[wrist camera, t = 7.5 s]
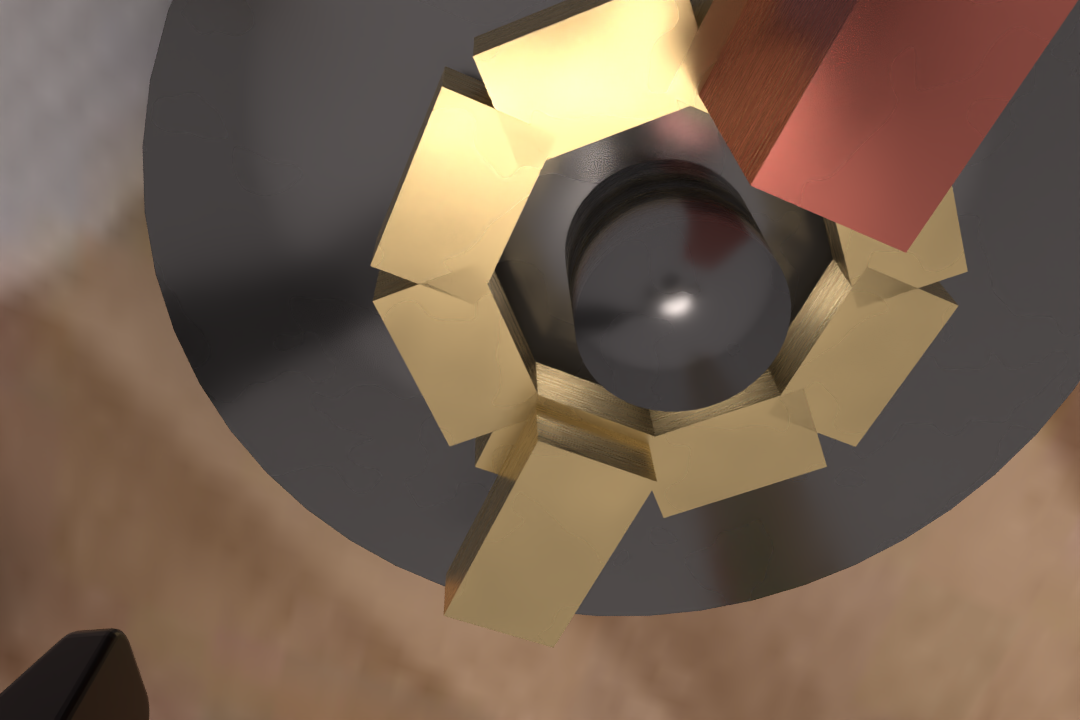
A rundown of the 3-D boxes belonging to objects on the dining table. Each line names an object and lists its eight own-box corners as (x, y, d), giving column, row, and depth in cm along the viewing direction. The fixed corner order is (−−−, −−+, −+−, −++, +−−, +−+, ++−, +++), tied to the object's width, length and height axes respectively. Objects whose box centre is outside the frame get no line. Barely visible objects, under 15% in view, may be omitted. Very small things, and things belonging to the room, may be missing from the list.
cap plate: (198, 562, 25) (150, 695, 21) (105, -430, 15) (-12, -480, 12) (962, 597, 26) (1033, 727, 23) (1326, -279, 16) (1544, -283, 13)
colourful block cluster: (1058, 407, 21) (1202, 578, 17) (478, 588, 23) (474, 784, 19) (961, -284, 15) (1154, -294, 11) (173, 47, 17) (63, 154, 13)
